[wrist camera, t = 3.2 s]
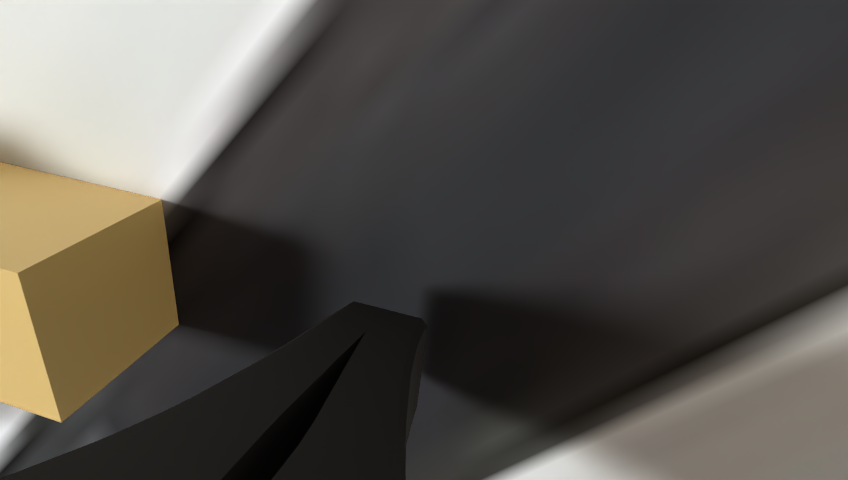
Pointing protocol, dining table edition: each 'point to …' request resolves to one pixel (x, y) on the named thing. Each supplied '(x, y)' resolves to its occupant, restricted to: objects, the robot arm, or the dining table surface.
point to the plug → (76, 287)
